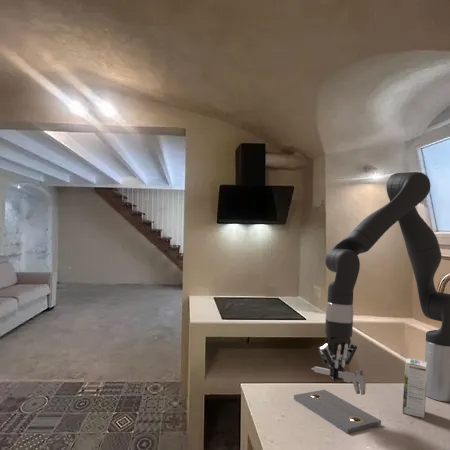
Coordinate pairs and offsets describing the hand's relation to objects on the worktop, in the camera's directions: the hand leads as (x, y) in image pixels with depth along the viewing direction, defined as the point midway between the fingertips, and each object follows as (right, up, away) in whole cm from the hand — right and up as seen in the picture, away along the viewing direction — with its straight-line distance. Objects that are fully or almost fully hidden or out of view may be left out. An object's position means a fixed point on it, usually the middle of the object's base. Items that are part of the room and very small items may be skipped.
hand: (336, 379), depth 112 cm
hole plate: (0, -9, 0) cm, 9 cm away
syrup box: (+23, -10, +2) cm, 25 cm away
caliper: (0, -1, 0) cm, 1 cm away
